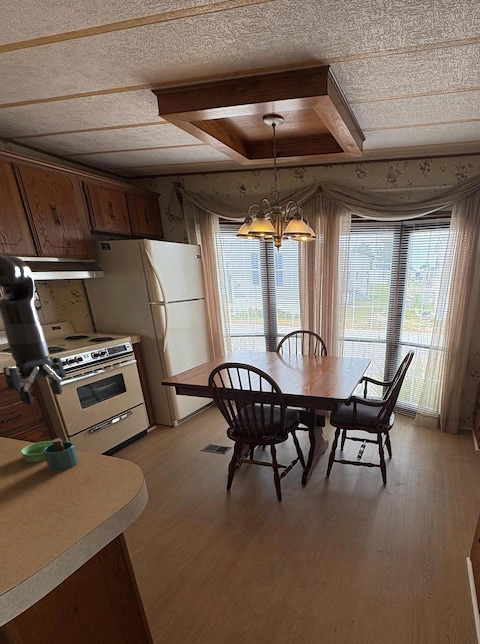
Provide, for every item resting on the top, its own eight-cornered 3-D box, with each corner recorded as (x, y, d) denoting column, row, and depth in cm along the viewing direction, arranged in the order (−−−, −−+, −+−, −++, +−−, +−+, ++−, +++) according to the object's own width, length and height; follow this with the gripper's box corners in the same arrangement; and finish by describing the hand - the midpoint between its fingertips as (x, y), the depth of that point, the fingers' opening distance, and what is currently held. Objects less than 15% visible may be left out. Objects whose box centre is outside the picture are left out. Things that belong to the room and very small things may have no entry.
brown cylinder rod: (58, 468, 102) (49, 441, 99) (64, 464, 104) (56, 438, 101) (64, 469, 102) (56, 442, 98) (70, 465, 104) (63, 438, 100)
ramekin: (30, 455, 110) (26, 443, 108) (64, 451, 113) (60, 439, 112) (20, 469, 102) (16, 456, 100) (57, 464, 106) (53, 451, 104)
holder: (43, 473, 100) (35, 451, 98) (65, 461, 107) (59, 440, 104) (64, 477, 99) (58, 454, 96) (85, 464, 106) (79, 443, 103)
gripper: (40, 334, 95) (55, 390, 102) (-16, 343, 82) (5, 406, 89) (63, 336, 94) (77, 392, 100) (10, 346, 81) (30, 409, 87)
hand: (43, 398), depth 94 cm, fingers open, 8 cm apart
